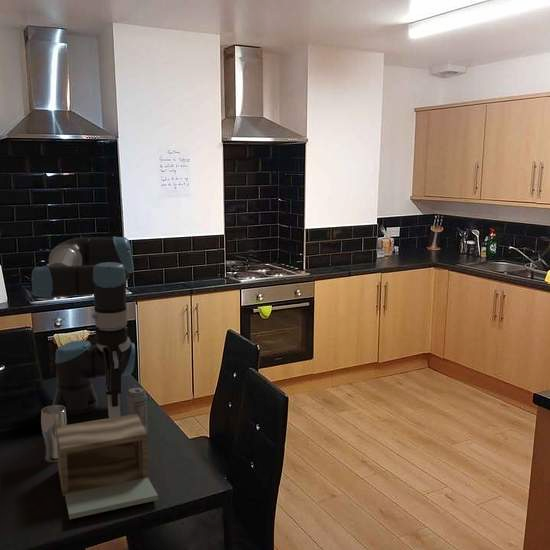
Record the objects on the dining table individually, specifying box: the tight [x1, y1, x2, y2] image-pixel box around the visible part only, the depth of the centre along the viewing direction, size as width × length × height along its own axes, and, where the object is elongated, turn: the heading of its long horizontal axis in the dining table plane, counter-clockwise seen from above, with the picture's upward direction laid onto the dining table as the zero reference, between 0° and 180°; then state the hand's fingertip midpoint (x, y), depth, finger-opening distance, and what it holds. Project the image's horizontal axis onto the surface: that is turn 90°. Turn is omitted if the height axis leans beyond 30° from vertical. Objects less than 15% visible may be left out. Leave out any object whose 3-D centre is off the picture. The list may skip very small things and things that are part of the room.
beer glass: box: [40, 404, 68, 464], centre depth 168 cm, size 7×7×15 cm
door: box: [64, 477, 159, 520], centre depth 146 cm, size 2×21×12 cm
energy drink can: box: [126, 386, 148, 433], centre depth 184 cm, size 6×6×15 cm
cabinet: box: [56, 414, 150, 497], centre depth 158 cm, size 14×22×14 cm, turn 114°
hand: (114, 416), depth 146 cm, fingers closed
